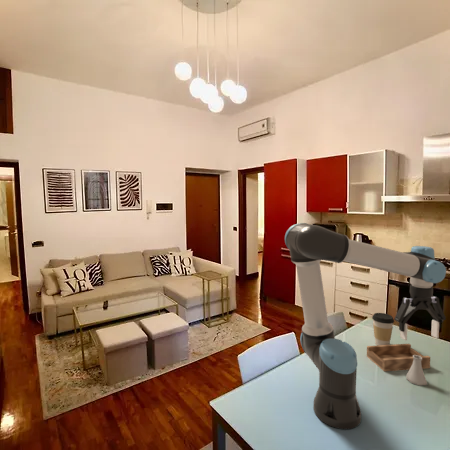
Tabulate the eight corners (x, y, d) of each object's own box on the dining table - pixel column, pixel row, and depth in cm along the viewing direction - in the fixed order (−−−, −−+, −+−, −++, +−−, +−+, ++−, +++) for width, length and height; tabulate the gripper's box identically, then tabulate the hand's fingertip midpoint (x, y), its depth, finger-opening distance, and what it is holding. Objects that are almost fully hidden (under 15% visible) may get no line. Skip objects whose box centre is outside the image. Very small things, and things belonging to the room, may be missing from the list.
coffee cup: (393, 343, 147) (394, 314, 146) (392, 351, 139) (394, 321, 138) (372, 338, 152) (373, 311, 152) (370, 346, 144) (371, 317, 143)
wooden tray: (384, 371, 122) (384, 360, 122) (366, 356, 134) (367, 346, 134) (429, 368, 124) (430, 357, 124) (408, 353, 137) (409, 343, 136)
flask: (431, 387, 111) (432, 362, 111) (410, 385, 113) (411, 360, 112) (422, 376, 119) (423, 353, 118) (402, 374, 120) (403, 351, 119)
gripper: (398, 289, 108) (396, 344, 109) (458, 287, 110) (456, 340, 112) (385, 284, 115) (383, 335, 116) (441, 281, 118) (439, 332, 119)
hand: (419, 337), depth 114 cm, fingers open, 13 cm apart
